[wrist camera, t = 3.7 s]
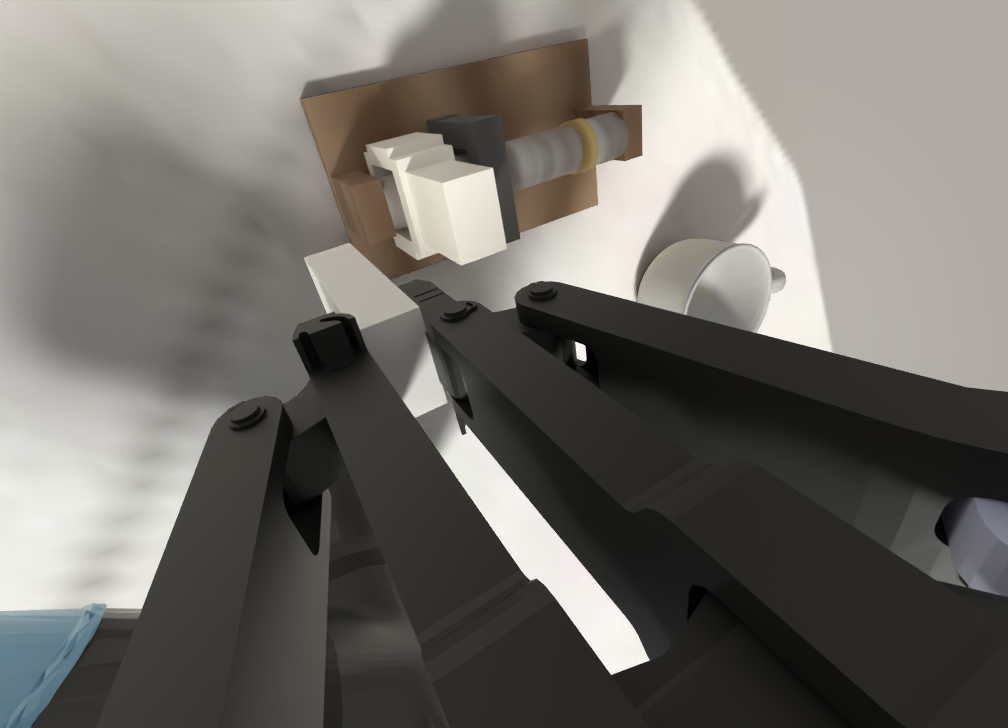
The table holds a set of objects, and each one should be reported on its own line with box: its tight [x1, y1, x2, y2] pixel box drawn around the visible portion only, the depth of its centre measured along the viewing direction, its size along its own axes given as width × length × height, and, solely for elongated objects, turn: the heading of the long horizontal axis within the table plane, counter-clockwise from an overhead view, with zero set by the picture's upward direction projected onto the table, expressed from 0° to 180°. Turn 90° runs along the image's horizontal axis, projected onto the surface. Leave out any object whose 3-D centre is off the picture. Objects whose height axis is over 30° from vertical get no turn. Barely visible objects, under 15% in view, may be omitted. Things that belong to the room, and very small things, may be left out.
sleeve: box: [364, 132, 507, 266], centre depth 25 cm, size 3×6×10 cm, turn 11°
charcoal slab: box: [426, 114, 520, 244], centre depth 28 cm, size 2×6×6 cm, turn 10°
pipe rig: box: [300, 39, 642, 280], centre depth 30 cm, size 19×11×7 cm, turn 101°
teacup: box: [637, 238, 786, 333], centre depth 45 cm, size 14×11×8 cm
